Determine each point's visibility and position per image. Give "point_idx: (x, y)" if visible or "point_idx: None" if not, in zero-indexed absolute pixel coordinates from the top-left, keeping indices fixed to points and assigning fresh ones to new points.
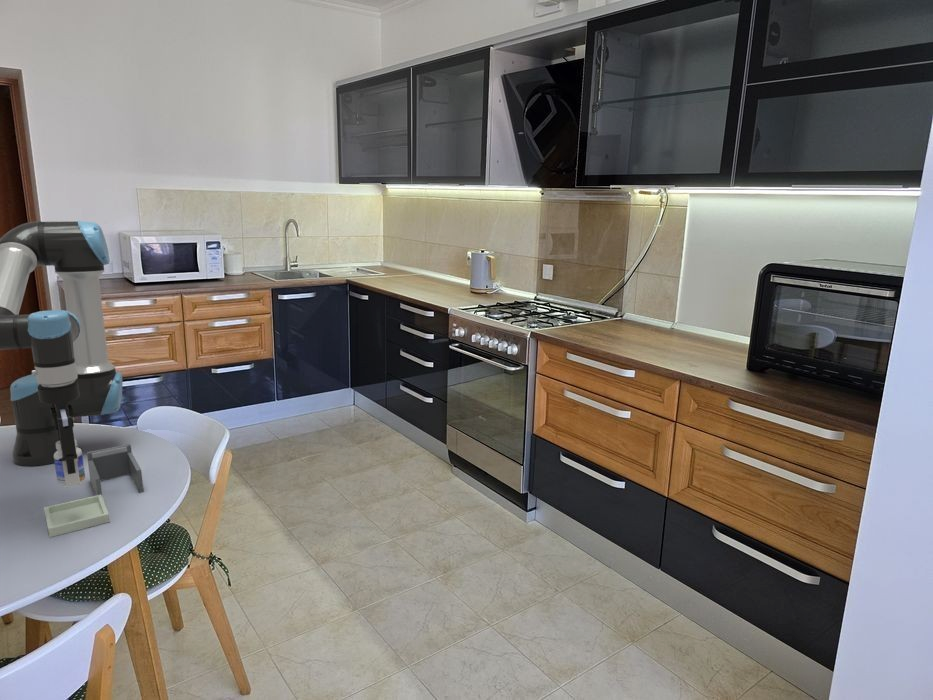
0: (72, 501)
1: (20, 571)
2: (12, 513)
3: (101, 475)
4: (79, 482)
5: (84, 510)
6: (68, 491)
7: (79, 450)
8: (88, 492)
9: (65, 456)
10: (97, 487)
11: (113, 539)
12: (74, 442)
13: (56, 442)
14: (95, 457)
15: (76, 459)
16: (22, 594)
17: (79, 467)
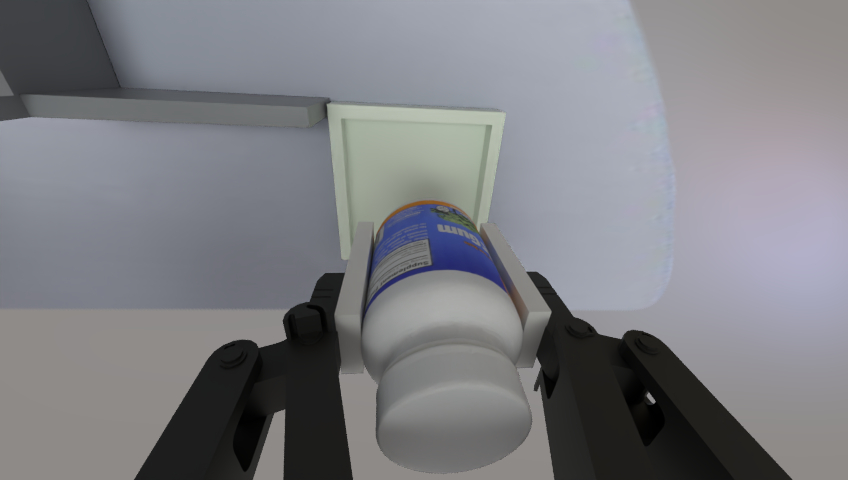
0: (340, 194)
1: (576, 294)
2: (293, 301)
3: (91, 59)
4: (497, 230)
5: (388, 164)
6: (193, 182)
7: (486, 305)
8: (226, 128)
9: (648, 403)
10: (318, 117)
11: (606, 121)
12: (785, 473)
13: (428, 471)
14: (3, 78)
15: (545, 304)
16: (655, 293)
17: (488, 254)
